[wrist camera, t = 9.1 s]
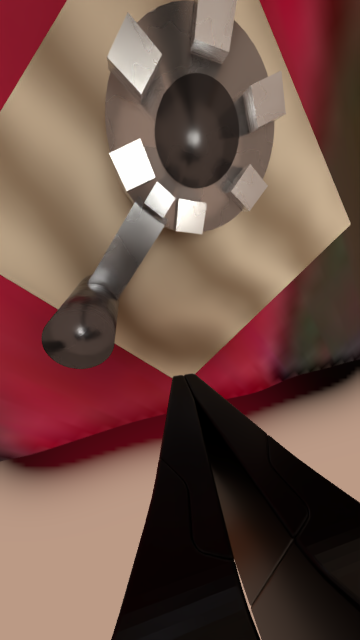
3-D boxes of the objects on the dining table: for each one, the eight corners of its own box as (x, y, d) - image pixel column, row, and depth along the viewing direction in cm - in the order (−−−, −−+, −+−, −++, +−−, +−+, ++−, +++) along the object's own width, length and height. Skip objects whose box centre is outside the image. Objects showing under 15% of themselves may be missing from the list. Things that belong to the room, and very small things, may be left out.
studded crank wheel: (166, -6, 10) (232, -390, 4) (272, 143, 14) (394, 78, 8) (26, 277, 14) (-58, 322, 8) (139, 333, 18) (146, 395, 11)
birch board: (173, -134, 10) (182, -199, 8) (335, 224, 20) (352, 224, 18) (-52, 230, 13) (-75, 231, 12) (180, 375, 23) (183, 386, 22)
